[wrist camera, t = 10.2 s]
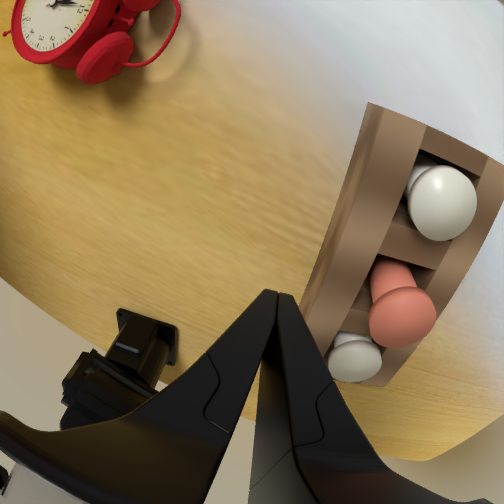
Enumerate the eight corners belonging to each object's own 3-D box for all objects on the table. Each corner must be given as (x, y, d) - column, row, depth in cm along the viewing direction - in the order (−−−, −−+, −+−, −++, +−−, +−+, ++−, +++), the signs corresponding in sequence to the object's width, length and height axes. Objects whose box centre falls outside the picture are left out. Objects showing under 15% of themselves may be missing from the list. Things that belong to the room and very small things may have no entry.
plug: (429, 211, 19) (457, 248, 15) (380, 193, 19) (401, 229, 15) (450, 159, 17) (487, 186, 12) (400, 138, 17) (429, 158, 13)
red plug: (399, 299, 21) (414, 352, 16) (351, 288, 21) (358, 342, 17) (424, 255, 19) (448, 304, 14) (373, 240, 19) (389, 290, 14)
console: (380, 351, 27) (385, 387, 23) (287, 333, 27) (283, 370, 24) (484, 153, 16) (516, 173, 13) (368, 102, 16) (385, 108, 13)
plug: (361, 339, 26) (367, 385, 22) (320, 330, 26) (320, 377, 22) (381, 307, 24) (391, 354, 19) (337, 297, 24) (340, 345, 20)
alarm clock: (39, -62, 8) (167, -67, 7) (93, -49, 13) (225, -26, 13) (-10, 53, 13) (74, 118, 13) (46, 50, 19) (148, 110, 18)
